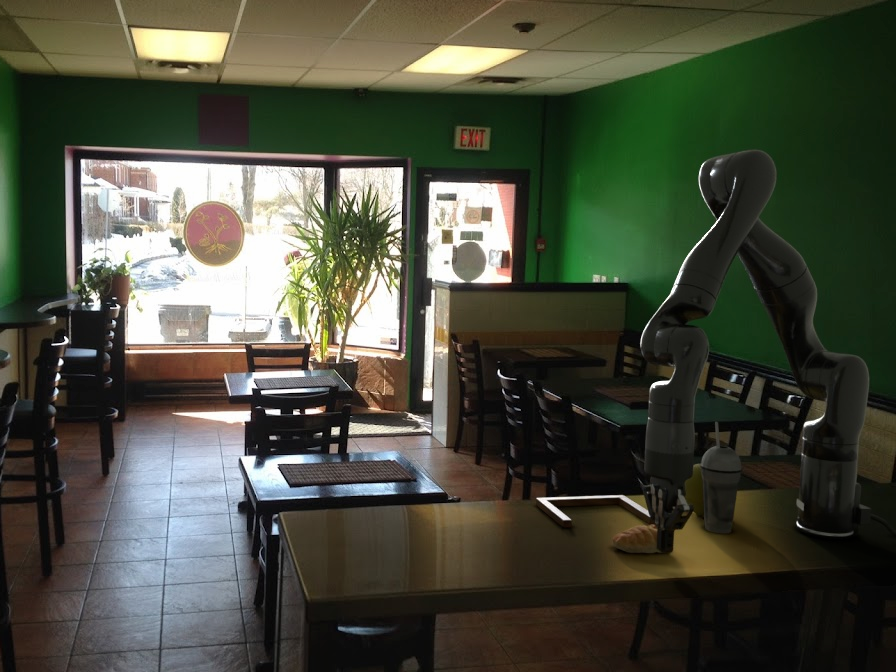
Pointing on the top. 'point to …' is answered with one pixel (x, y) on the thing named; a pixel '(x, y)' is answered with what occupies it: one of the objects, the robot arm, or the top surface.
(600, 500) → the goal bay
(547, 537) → the top surface
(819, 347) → the robot arm
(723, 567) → the top surface
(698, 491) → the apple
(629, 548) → the pastry
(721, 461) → the beverage cup
